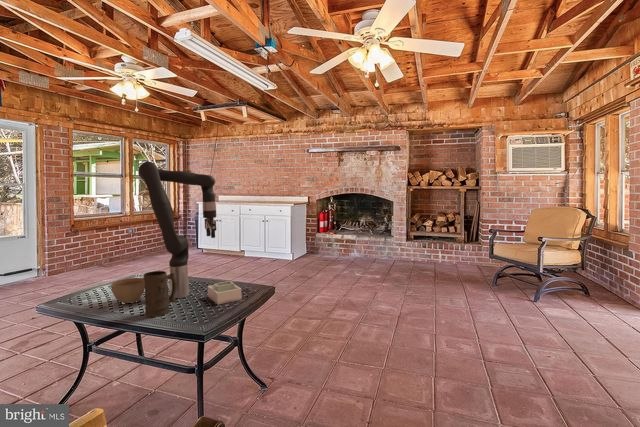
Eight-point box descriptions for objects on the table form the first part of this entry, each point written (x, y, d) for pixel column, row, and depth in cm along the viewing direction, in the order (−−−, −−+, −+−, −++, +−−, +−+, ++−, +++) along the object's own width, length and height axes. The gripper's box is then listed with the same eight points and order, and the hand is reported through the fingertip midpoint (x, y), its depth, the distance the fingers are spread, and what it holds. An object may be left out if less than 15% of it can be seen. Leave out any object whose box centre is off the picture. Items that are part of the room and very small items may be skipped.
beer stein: (152, 319, 160) (152, 275, 159) (138, 315, 165) (138, 273, 165) (181, 310, 173) (181, 270, 172) (168, 307, 178) (168, 268, 178)
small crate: (218, 299, 182) (217, 286, 181) (214, 296, 187) (213, 283, 186) (234, 296, 187) (234, 283, 186) (230, 293, 192) (229, 280, 192)
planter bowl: (133, 295, 196) (132, 276, 195) (153, 299, 189) (152, 279, 188) (105, 304, 182) (103, 284, 181) (125, 308, 175) (124, 287, 174)
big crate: (218, 304, 177) (217, 293, 176) (208, 296, 190) (207, 286, 190) (241, 299, 184) (241, 288, 183) (230, 292, 197) (230, 281, 197)
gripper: (199, 209, 209) (200, 236, 210) (206, 210, 197) (208, 239, 198) (212, 208, 213) (213, 235, 214) (219, 209, 201) (221, 237, 202)
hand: (210, 237), depth 206 cm, fingers open, 8 cm apart
